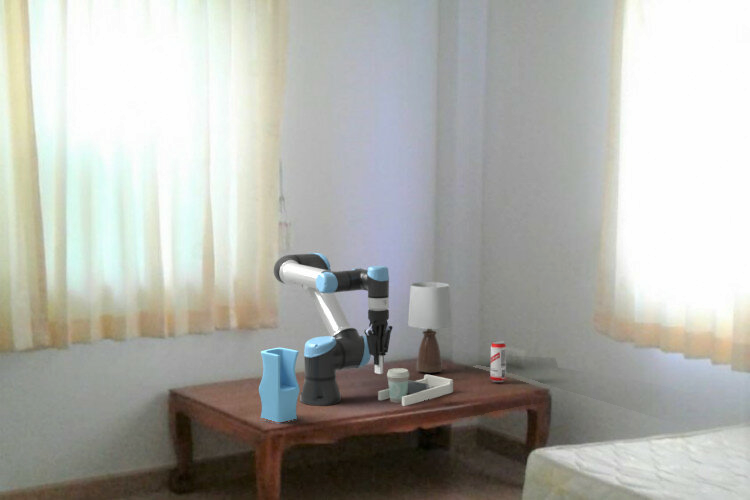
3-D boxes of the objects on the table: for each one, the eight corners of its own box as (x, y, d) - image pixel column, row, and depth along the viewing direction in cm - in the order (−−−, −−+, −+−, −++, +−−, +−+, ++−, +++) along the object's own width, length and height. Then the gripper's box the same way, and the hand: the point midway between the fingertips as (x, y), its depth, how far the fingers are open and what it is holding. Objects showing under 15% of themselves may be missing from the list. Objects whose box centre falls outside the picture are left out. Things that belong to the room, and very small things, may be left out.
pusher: (425, 397, 345) (426, 384, 344) (407, 393, 351) (407, 380, 350) (442, 392, 352) (442, 379, 352) (424, 388, 358) (424, 376, 358)
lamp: (410, 364, 402) (410, 281, 398) (452, 365, 399) (452, 282, 395) (405, 374, 383) (405, 287, 380) (449, 375, 381) (450, 288, 377)
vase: (278, 428, 306) (277, 355, 304) (259, 423, 313) (258, 351, 310) (299, 422, 314) (299, 351, 311) (280, 416, 320) (279, 347, 318)
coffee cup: (383, 400, 342) (383, 368, 341) (403, 397, 345) (403, 366, 344) (392, 405, 334) (392, 373, 333) (413, 403, 338) (413, 371, 336)
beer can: (498, 383, 368) (499, 344, 366) (487, 380, 372) (487, 342, 371) (508, 380, 372) (509, 342, 370) (497, 378, 376) (497, 340, 375)
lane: (404, 407, 333) (404, 393, 332) (378, 400, 341) (378, 387, 341) (452, 392, 354) (453, 379, 353) (427, 386, 363) (427, 374, 362)
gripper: (373, 312, 321) (374, 377, 323) (398, 307, 330) (398, 371, 333) (358, 310, 326) (358, 374, 328) (382, 305, 335) (383, 368, 338)
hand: (378, 373), depth 330 cm, fingers closed
